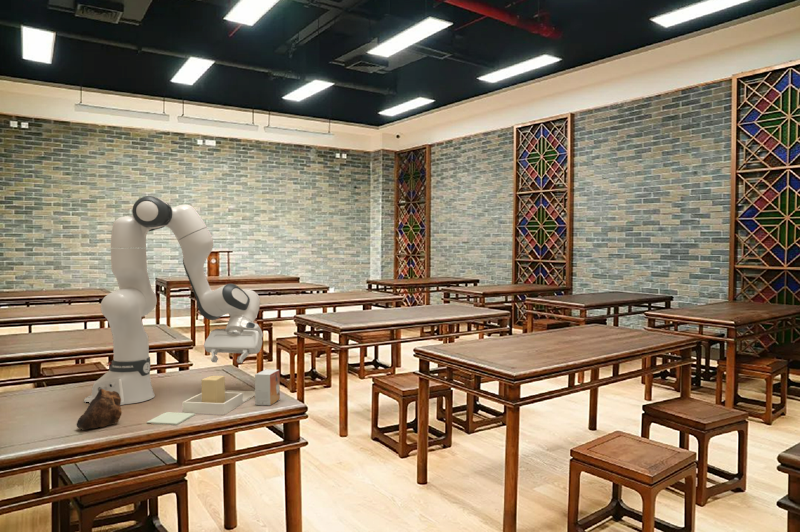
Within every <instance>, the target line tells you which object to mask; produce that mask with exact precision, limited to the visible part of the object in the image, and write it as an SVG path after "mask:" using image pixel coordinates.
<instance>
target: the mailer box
mask: <svg viewBox="0 0 800 532" xmlns="http://www.w3.org/2000/svg"><path fill="white" fill-rule="evenodd" d="M253 396H254V397H255V390H254V391H253V390H252V391H251V390H226V389H225V403H203V402H202V392H200V393H199V394H196V395H194V396H192V397H190V398H188V399H186V400H184V401H182V413H195V415H196V414H197V415H214V416H215V415H217V416H218V415H219V416H225V415H227V414H228V413H229V412H232V411H233V410H234V409H236V408H238V407H240V406H241V405H243V404H244V403H246V402H247V401H249V400H251V399H252V398H254V397H253ZM251 397H252V398H251ZM250 398H251V399H250ZM245 401H246V402H245ZM242 403H243V404H242Z"/></svg>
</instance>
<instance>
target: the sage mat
mask: <svg viewBox="0 0 800 532" xmlns="http://www.w3.org/2000/svg"><path fill="white" fill-rule="evenodd" d="M194 416H196V414H195V413H183V412H171V411H166V412H164V413H161V414H159V415H158V416H156V417H153V418H151V419H149V420H147V421H146V423H153V424H152V425H163V424H166V425H167V424H169V425H170V426H178V425H180V424H182V423H184V422H185V421H187V420H189V419H190V417H191V418H192V417H194ZM183 421H184V422H183ZM181 422H182V423H181ZM169 425H167V426H169Z"/></svg>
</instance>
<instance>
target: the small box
mask: <svg viewBox="0 0 800 532" xmlns="http://www.w3.org/2000/svg"><path fill="white" fill-rule="evenodd" d="M280 379H281V377H280V369H270V368H269V369H267V368H264V370H262V371H259V372H258V373H255V374H254V391H255V396H254V399H255V401H254V402H255V403H254V404H255V405H256V406H272V405H273V404H274V403H276V402H278V401H280V400H281V395H280V393H281V392H280V389H281V387H280ZM279 399H280V400H279ZM277 400H278V401H277Z"/></svg>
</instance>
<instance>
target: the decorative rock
mask: <svg viewBox="0 0 800 532" xmlns="http://www.w3.org/2000/svg"><path fill="white" fill-rule="evenodd" d="M120 403H121V398H120V395H119V393H117V392H116V391H113V392H111V391H106V390H104V389H100V390H99V392H98V394H97V395H96V397H95V399H93V400H92V401H91V403H88V404H89V405H88V407H87V408H86V410H85V411H84V412H83V414H82V415H81V416H80V417H79V418H78V419H77V421H76V427H77V429H79V430H81V429H82V431H86V430H89V429H95V428H96V429H97V428H98V427H100V428H104V427H106V426H110V425H113V424H117V423H119V420H120V419H121V416H122V413H123V412H122V407H121V405H120Z"/></svg>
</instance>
